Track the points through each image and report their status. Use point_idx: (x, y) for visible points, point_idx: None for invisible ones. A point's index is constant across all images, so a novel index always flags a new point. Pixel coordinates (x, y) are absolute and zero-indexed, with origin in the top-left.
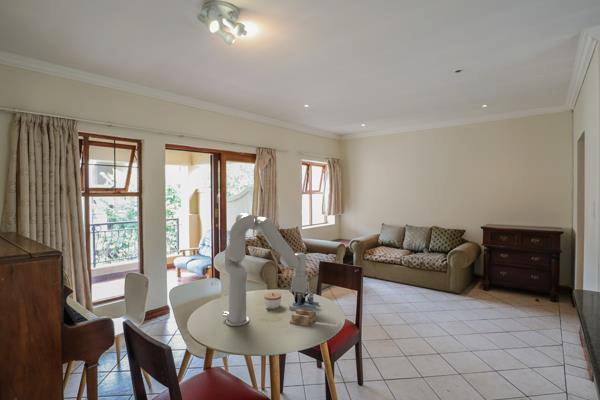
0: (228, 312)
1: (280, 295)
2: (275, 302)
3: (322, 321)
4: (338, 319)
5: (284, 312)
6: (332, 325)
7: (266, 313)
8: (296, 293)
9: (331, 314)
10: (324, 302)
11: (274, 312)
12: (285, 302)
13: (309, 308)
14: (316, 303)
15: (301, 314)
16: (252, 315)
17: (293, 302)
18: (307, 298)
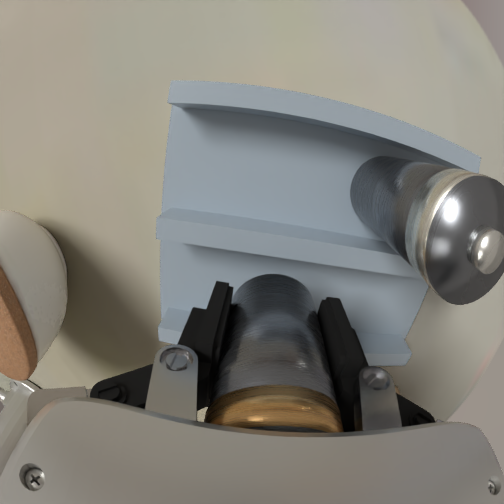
0: (2, 400)
1: (3, 314)
2: (44, 354)
3: (422, 395)
4: (496, 348)
5: (149, 336)
6: (448, 406)
7: (64, 351)
8: (182, 394)
9: (495, 298)
10: (470, 47)
11: (90, 338)
12: (76, 102)
13: (379, 357)
14: (453, 166)
15: None
16: (37, 367)
17: (162, 224)
18: (393, 238)
